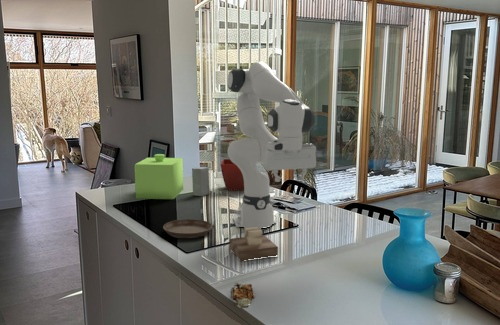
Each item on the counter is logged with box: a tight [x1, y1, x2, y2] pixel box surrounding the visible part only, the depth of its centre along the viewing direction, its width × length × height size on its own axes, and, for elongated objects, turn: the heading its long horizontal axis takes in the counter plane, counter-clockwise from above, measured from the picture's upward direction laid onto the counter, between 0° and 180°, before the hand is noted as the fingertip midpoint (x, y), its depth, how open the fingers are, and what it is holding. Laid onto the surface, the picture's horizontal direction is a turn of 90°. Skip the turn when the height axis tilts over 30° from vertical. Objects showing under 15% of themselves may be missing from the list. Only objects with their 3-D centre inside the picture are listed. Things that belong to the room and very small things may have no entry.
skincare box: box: [191, 166, 210, 197], centre depth 260 cm, size 8×7×16 cm
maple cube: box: [244, 227, 263, 245], centre depth 168 cm, size 5×5×5 cm
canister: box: [134, 153, 184, 200], centre depth 261 cm, size 25×21×23 cm
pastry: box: [231, 282, 255, 308], centre depth 133 cm, size 7×12×4 cm, turn 9°
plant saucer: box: [162, 218, 213, 239], centre depth 192 cm, size 21×21×3 cm
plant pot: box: [220, 158, 244, 191], centre depth 276 cm, size 19×19×17 cm
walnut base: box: [229, 234, 279, 262], centre depth 168 cm, size 14×14×4 cm
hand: (289, 180), depth 169 cm, fingers open, 8 cm apart
